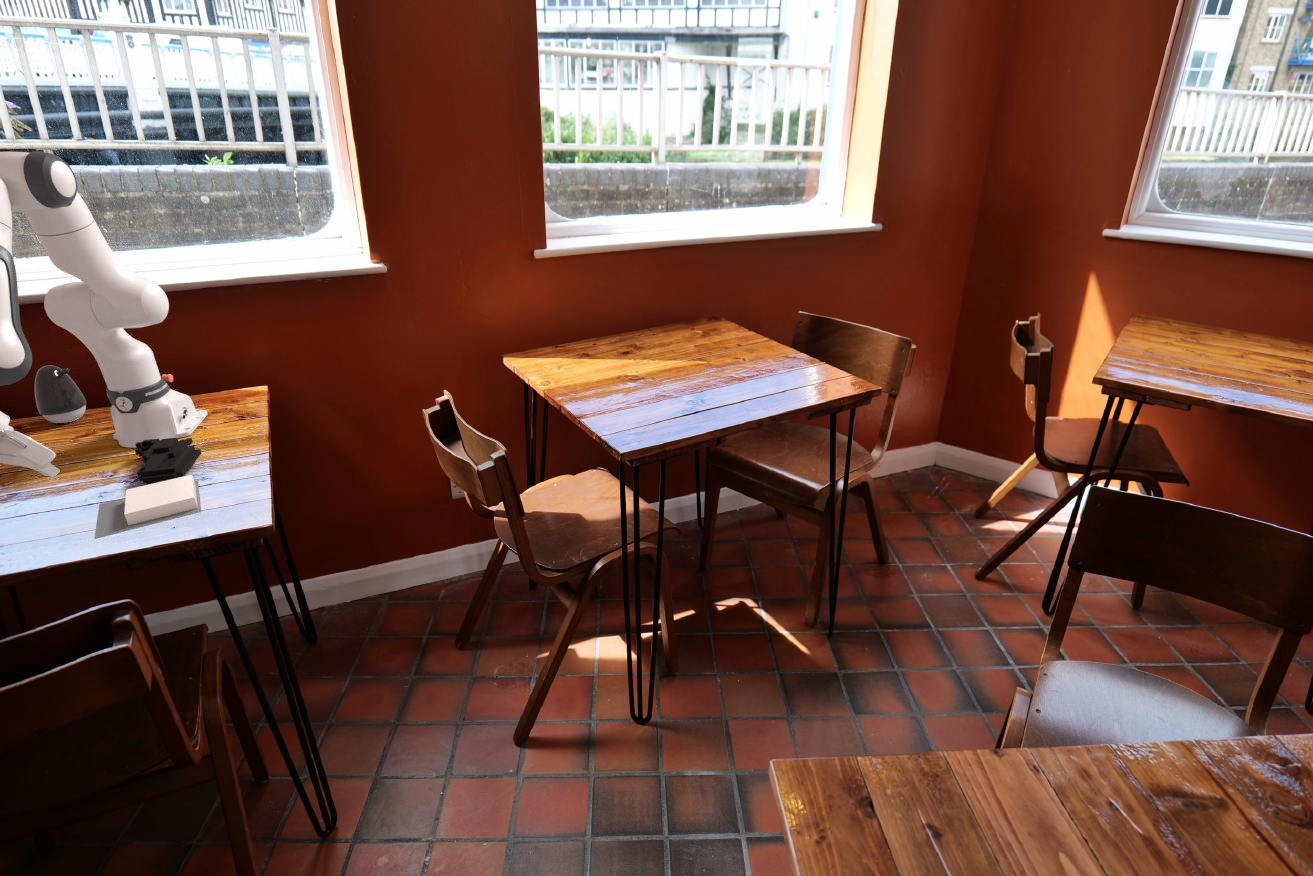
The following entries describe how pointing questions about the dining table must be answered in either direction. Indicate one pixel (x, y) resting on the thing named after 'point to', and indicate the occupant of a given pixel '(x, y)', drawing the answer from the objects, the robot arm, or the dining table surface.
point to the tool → (165, 459)
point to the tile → (160, 499)
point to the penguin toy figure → (58, 395)
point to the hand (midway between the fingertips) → (54, 473)
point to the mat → (115, 521)
